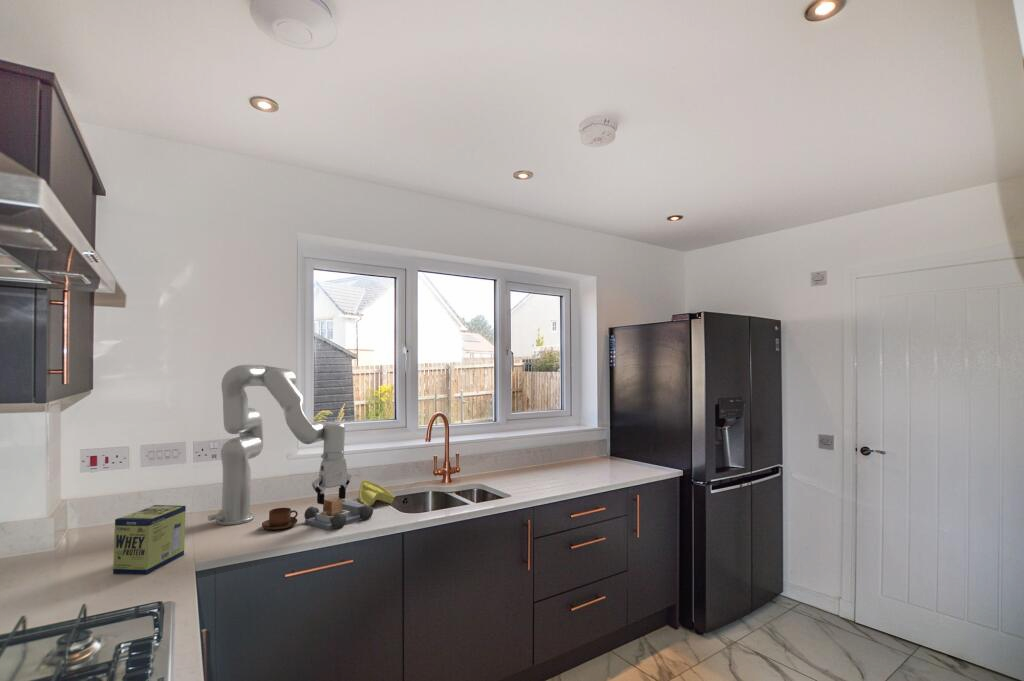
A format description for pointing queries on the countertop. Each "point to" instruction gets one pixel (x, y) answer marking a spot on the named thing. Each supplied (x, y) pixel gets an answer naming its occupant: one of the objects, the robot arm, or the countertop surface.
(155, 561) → the protein box
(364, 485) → the plastic component
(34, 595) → the countertop surface
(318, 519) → the chassis
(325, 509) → the wooden block
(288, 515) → the cup and saucer
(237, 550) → the countertop surface
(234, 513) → the robot arm
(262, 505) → the countertop surface
